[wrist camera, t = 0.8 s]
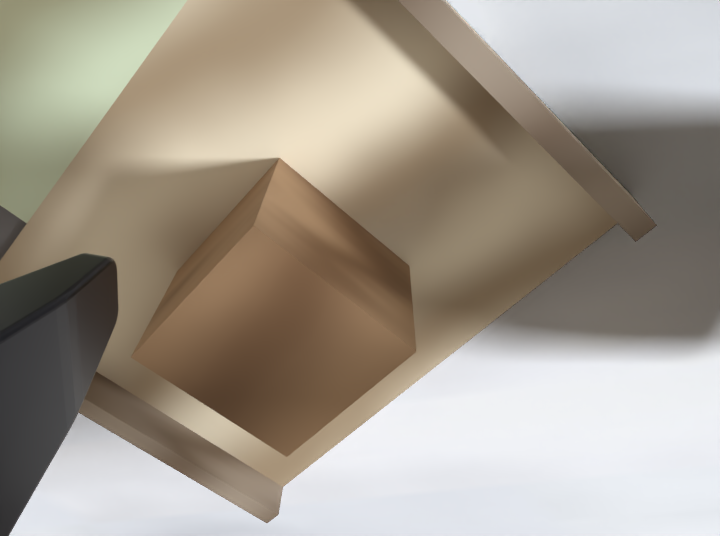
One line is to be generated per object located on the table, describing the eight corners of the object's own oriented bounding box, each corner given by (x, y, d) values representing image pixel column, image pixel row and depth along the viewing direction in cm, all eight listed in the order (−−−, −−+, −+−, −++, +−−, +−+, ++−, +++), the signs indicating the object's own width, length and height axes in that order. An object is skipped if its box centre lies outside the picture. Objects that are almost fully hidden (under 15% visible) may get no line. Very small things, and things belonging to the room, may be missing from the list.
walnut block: (409, 265, 23) (416, 351, 18) (302, 361, 25) (286, 457, 21) (279, 157, 21) (253, 225, 17) (176, 271, 23) (130, 357, 19)
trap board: (631, 195, 22) (656, 225, 20) (274, 481, 30) (266, 523, 28) (73, -392, 15) (27, -436, 13) (-206, 184, 23) (-262, 212, 21)
